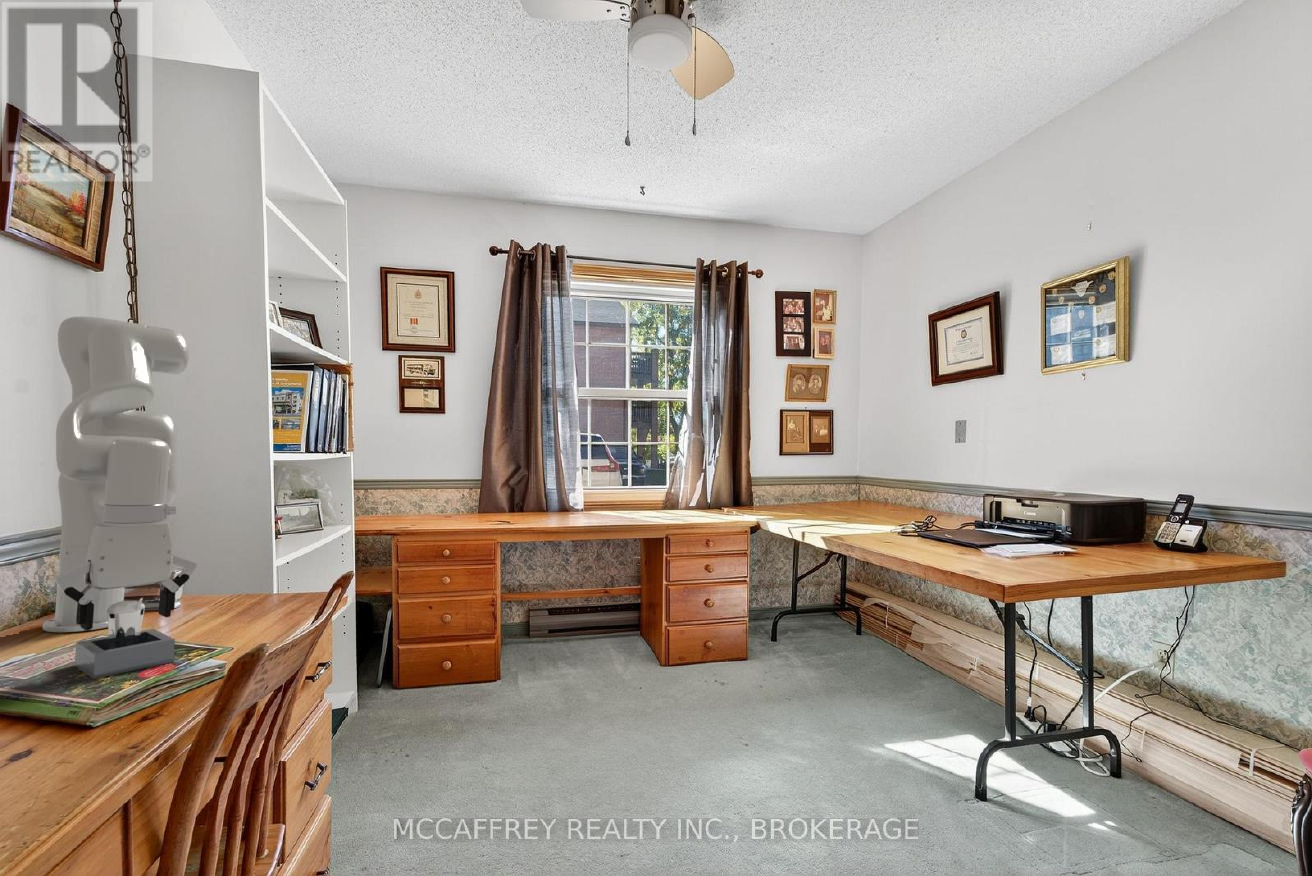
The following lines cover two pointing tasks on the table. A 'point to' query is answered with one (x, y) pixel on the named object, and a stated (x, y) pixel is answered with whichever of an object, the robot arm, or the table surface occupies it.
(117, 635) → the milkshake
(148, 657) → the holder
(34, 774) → the table surface
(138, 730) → the table surface
